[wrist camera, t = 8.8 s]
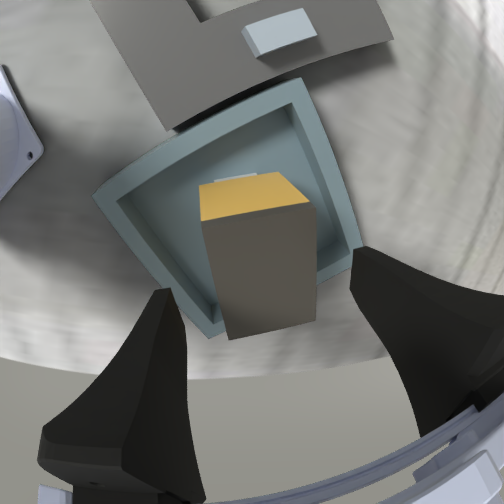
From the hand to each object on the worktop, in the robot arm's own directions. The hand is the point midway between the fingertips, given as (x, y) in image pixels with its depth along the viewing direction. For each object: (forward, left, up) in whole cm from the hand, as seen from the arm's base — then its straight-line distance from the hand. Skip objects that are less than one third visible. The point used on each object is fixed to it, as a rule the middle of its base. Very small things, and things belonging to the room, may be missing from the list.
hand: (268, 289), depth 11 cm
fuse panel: (+6, +14, -8) cm, 18 cm away
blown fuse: (0, 0, -7) cm, 7 cm away
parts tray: (0, 0, -8) cm, 8 cm away
